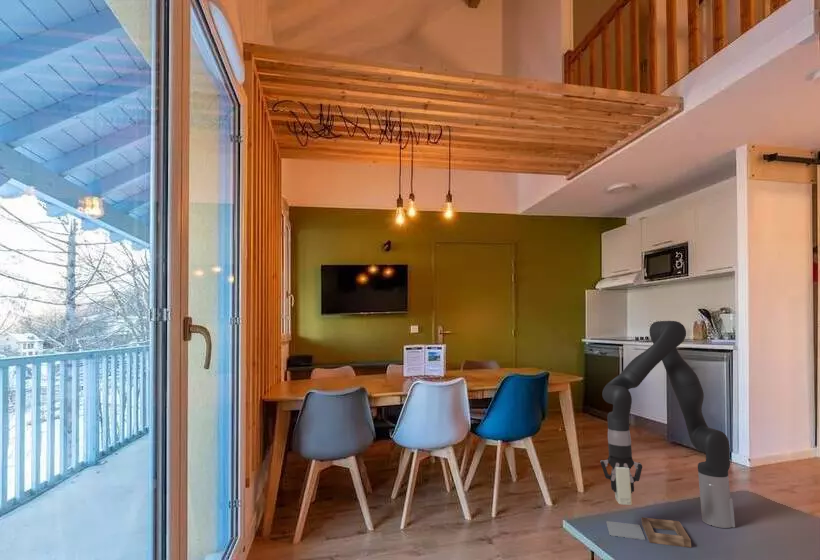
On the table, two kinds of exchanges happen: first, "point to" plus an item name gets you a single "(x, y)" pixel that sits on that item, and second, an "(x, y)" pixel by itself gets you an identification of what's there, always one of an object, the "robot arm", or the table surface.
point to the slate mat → (625, 530)
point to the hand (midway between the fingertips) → (622, 491)
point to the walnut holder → (666, 539)
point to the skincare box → (623, 486)
